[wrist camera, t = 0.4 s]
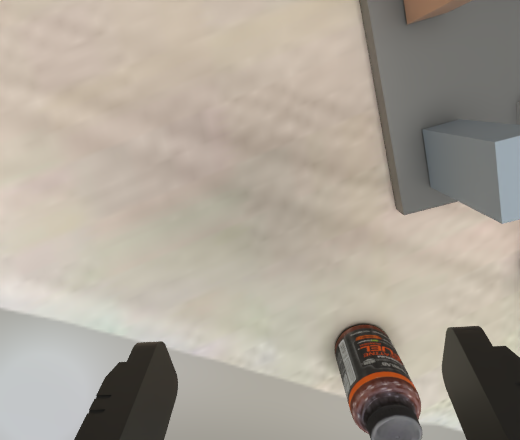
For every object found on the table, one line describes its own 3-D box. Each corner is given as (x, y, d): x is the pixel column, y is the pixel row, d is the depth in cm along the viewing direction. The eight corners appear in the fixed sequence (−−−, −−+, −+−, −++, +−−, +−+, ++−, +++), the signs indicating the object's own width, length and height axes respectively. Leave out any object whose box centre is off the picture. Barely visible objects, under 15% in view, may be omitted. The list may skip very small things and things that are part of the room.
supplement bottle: (393, 322, 39) (444, 408, 28) (385, 370, 41) (430, 468, 30) (336, 320, 39) (364, 404, 28) (330, 368, 40) (355, 465, 30)
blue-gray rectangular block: (422, 129, 31) (494, 142, 21) (459, 119, 30) (549, 127, 21) (430, 187, 32) (502, 223, 22) (466, 177, 32) (553, 210, 22)
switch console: (349, -58, 29) (370, -98, 23) (537, -119, 27) (609, -177, 22) (396, 208, 35) (422, 230, 29) (550, 169, 34) (609, 182, 28)
